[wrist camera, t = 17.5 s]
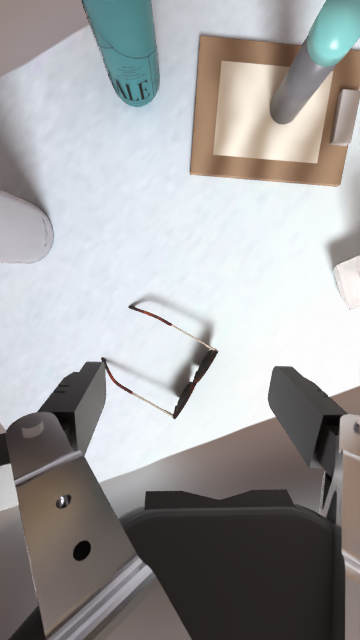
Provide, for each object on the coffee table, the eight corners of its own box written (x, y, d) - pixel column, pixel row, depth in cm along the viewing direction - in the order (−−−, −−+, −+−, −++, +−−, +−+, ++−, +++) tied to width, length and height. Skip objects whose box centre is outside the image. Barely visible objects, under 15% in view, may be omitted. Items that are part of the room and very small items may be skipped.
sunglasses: (177, 404, 44) (175, 421, 39) (100, 362, 43) (88, 374, 38) (215, 343, 41) (219, 352, 37) (135, 297, 41) (127, 300, 36)
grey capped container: (266, 124, 33) (315, 46, 21) (271, 88, 32) (324, -14, 21) (296, 126, 33) (361, 50, 22) (301, 90, 32) (372, -10, 21)
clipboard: (190, 174, 35) (190, 169, 34) (200, 41, 32) (201, 28, 30) (336, 186, 36) (344, 182, 34) (362, 56, 32) (372, 44, 30)
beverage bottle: (149, 50, 32) (102, -287, 12) (169, 103, 33) (157, -125, 14) (105, 74, 33) (-4, -213, 13) (128, 126, 34) (59, -65, 14)
